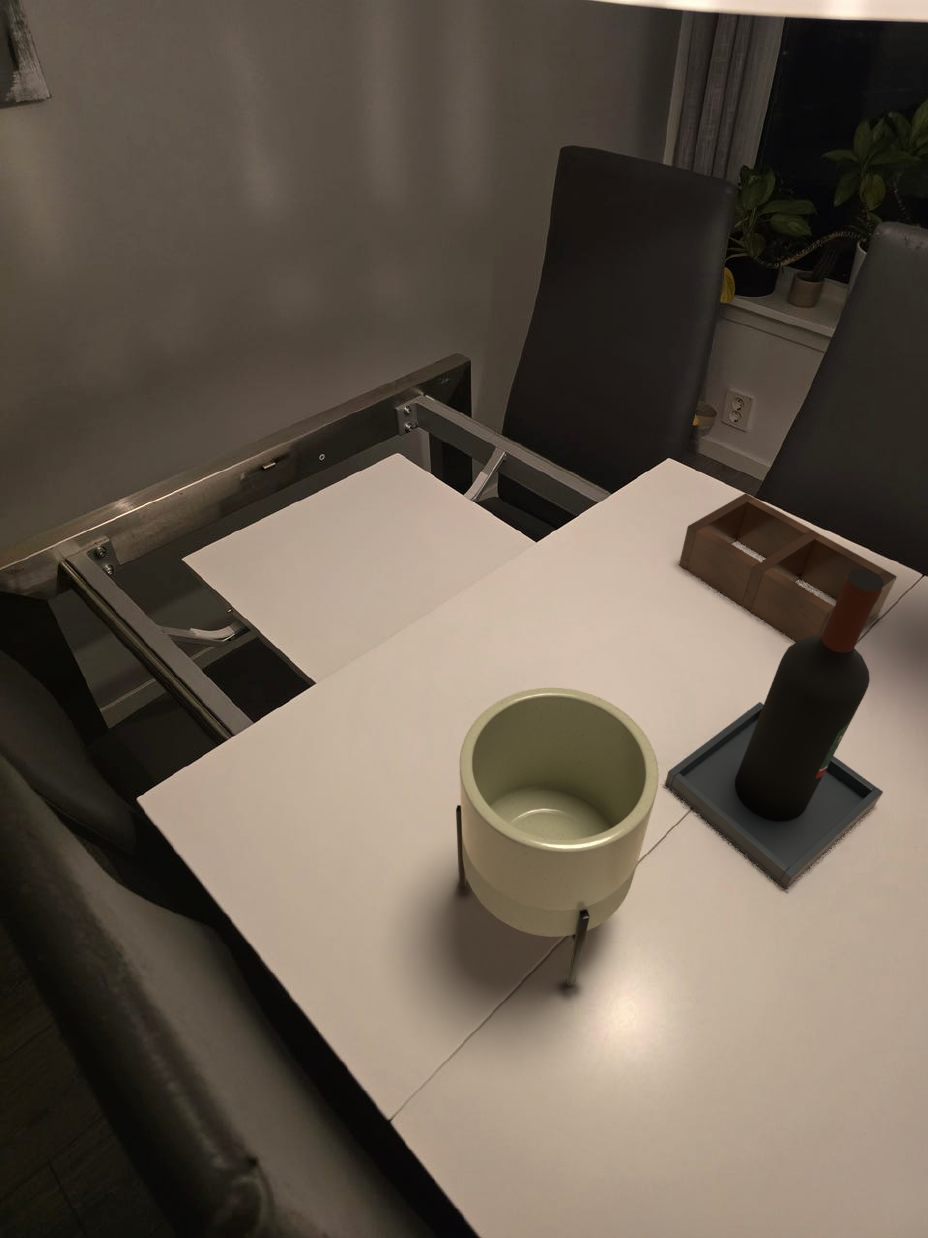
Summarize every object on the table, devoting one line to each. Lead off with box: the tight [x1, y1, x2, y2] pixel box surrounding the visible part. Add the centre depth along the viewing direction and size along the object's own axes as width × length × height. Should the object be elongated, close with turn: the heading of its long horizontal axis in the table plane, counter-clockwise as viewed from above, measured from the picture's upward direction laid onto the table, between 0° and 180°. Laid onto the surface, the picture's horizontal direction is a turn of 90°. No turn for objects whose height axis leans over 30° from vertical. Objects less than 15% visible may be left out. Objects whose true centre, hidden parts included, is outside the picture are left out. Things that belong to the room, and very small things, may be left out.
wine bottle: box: [735, 569, 884, 821], centre depth 74 cm, size 8×8×30 cm
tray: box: [664, 701, 884, 890], centre depth 84 cm, size 16×16×2 cm
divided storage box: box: [678, 492, 898, 643], centre depth 106 cm, size 24×12×7 cm, turn 38°
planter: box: [455, 687, 660, 988], centre depth 68 cm, size 15×16×23 cm
